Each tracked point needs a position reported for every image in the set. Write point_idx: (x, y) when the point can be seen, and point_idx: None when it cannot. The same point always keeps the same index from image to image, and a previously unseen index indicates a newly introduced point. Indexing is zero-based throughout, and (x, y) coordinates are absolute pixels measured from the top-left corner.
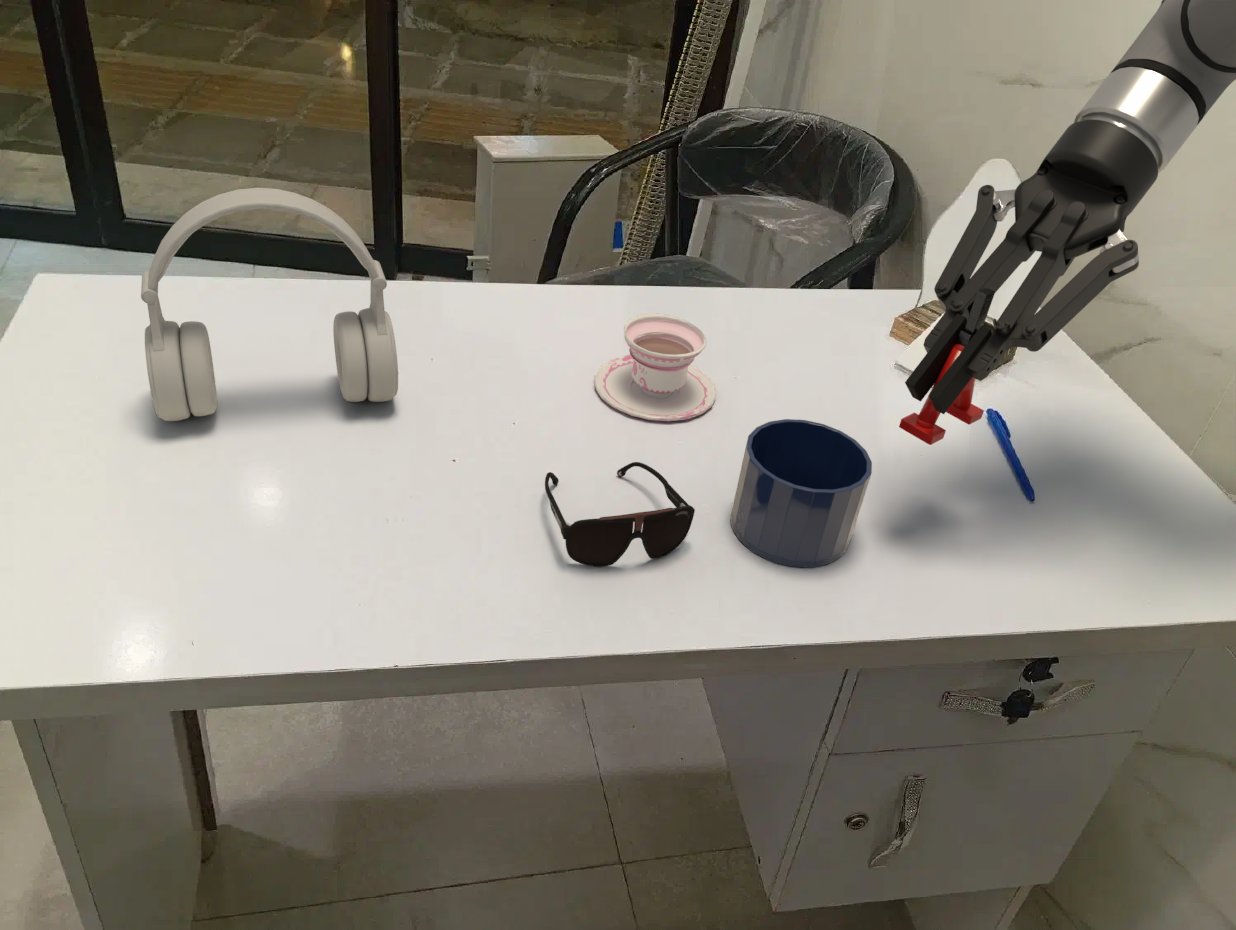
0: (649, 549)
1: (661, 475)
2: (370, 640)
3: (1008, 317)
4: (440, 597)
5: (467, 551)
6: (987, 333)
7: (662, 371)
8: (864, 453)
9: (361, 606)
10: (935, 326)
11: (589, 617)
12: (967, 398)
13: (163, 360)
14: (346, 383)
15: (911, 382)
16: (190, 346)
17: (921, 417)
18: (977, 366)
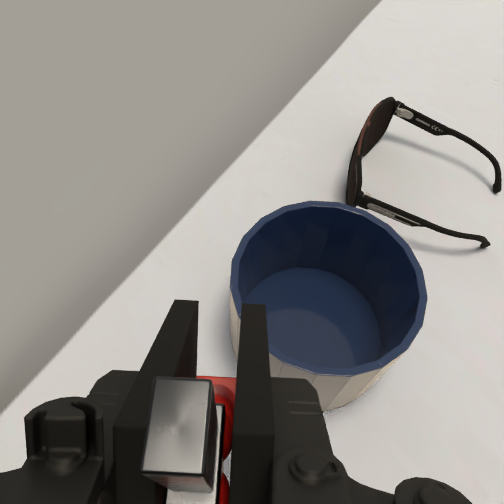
0: (349, 169)
1: (440, 229)
2: (378, 28)
3: (49, 490)
4: (394, 66)
5: (433, 98)
6: (119, 413)
7: None
8: (279, 353)
9: (410, 36)
10: (321, 420)
11: (318, 116)
12: None
13: None
14: None
15: (251, 306)
16: None
17: (222, 385)
18: (120, 381)
